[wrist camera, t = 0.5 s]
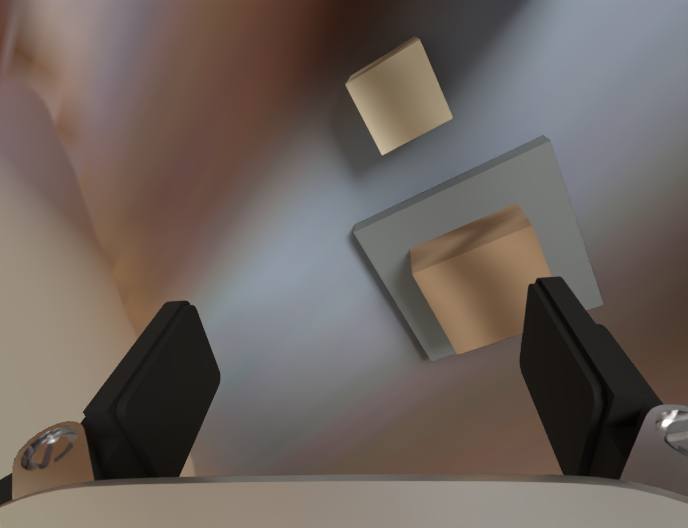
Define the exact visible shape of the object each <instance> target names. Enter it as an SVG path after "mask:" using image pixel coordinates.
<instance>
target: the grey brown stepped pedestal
mask: <svg viewBox="0 0 688 528" xmlns="http://www.w3.org/2000/svg"><path fill="white" fill-rule="evenodd" d="M353 233H354V234H355V236H356V238H357V239H358V241H359V243H360V244H361V246H362V248H363V249H364V251H365V253H366V254H367V256H368V258H369V259H370V261H371V263H372V264H373V266H374V268H375V269H376V271H377V272H378V274H379V276H380V277H381V279H382V281H383V282H384V284H385V286H386V287H387V289H388V291H389V292H390V294H391V296H392V297H393V299H394V301H395V302H396V304H397V306H398V307H399V309H400V311H401V312H402V314H403V315H404V317H405V319H406V320H407V322H408V324H409V325H410V327H411V329H412V330H413V332H414V334H415V335H416V337H417V339H418V340H419V342H420V344H421V345H422V347H423V349H424V350H425V352H426V354H427V355H428V357H429V358H430V360H431V362H432V361H435V360H438V359H441V358H444V357H447V356H450V355H453V354H456V353H457V355H458V354H461V353H464V352H468V351H471V350H474V349H477V348H480V347H483V346H486V345H489V344H492V343H495V342H498V341H501V340H504V339H507V338H510V337H513V336H516V335H519V334H522V333H523V326H524V317H525V308H526V300H527V291H528V286H529V284H533V283H535V281H536V279H537V278H542V277H557V276H560V277H562V278H563V279H564V281H565V282H566V283H567V285H568V286H569V288H570V289H571V290H572V292H573V293H574V294H575V296H576V297H577V299H578V300H579V301H580V303H581V304H582V306H583V307H584V308H585V310H589V309H592V308H595V307H599V306H602V305H604V304H603V301H602V298H601V295H600V292H599V289H598V286H597V283H596V280H595V277H594V273H593V270H592V267H591V264H590V261H589V258H588V255H587V252H586V249H585V246H584V243H583V240H582V237H581V233H580V230H579V227H578V224H577V221H576V218H575V215H574V212H573V209H572V206H571V203H570V200H569V197H568V193H567V190H566V187H565V184H564V181H563V178H562V175H561V172H560V169H559V166H558V163H557V160H556V157H555V153H554V150H553V147H552V144H551V141H550V140H549V139H548V138H546V137H545V136H544V135H543V136H541V137H539V138H537V139H535V140H533V141H530V142H528V143H526V144H524V145H522V146H520V147H518V148H516V149H514V150H511V151H509V152H507V153H505V154H503V155H501V156H499V157H497V158H495V159H492V160H490V161H488V162H486V163H484V164H482V165H480V166H478V167H476V168H473V169H471V170H469V171H467V172H465V173H463V174H461V175H459V176H457V177H454V178H452V179H450V180H448V181H446V182H444V183H442V184H440V185H438V186H435V187H433V188H431V189H429V190H427V191H425V192H423V193H421V194H419V195H416V196H414V197H412V198H410V199H408V200H406V201H404V202H402V203H400V204H397V205H395V206H393V207H391V208H389V209H387V210H385V211H383V212H381V213H378V214H376V215H374V216H372V217H370V218H368V219H366V220H364V221H362V222H360V223H357V224H355V226H354V232H353Z"/></svg>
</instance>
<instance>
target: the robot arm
mask: <svg viewBox="0 0 688 528" xmlns="http://www.w3.org/2000/svg"><path fill="white" fill-rule="evenodd" d="M520 368H521V372H522V375H523V377H524V380H525V382H526V385H527V387H528V390H529V392H530V394H531V397H532V399H533V402H534V404H535V407H536V409H537V411H538V414H539V416H540V419H541V421H542V424H543V426H544V429H545V431H546V433H547V436H548V438H549V441H550V443H551V446H552V448H553V450H554V453H555V455H556V458H557V460H558V463H559V465H560V468H561V470H562V472H563V475H531V474H377V475H277V476H210V477H179V476H180V473H181V471H182V469H183V467H184V464H185V462H186V460H187V457H188V455H189V453H190V451H191V448H192V446H193V444H194V441H195V439H196V437H197V434H198V432H199V430H200V428H201V425H202V423H203V421H204V418H205V416H206V414H207V411H208V409H209V407H210V405H211V402H212V400H213V398H214V395H215V393H216V391H217V389H218V386H219V383H220V371H219V368H218V366H217V363H216V360H215V358H214V355H213V352H212V349H211V347H210V344H209V341H208V339H207V336H206V333H205V331H204V328H203V325H202V322H201V320H200V317H199V314H198V312H197V309H196V307H195V306H194V305H190V303H189V302H188V301H172V302H166V303H165V304H164V305H163V306H162V308H161V309H160V310H159V312H158V313H157V314H156V316H155V317H154V318H153V319H152V321H151V322H150V323H149V325H148V326H147V327H146V329H145V330H144V331H143V333H142V334H141V335H140V337H139V338H138V339H137V341H136V342H135V344H134V345H133V346H132V347H131V349H130V350H129V352H128V353H127V354H126V355H125V357H124V358H123V359H122V361H121V362H120V363H119V365H118V366H117V367H116V369H115V370H114V371H113V373H112V374H111V375H110V377H109V378H108V379H107V381H106V382H105V383H104V385H103V386H102V387H101V389H100V390H99V391H98V392H97V394H96V395H95V397H94V398H93V399H92V401H91V402H90V403H89V405H88V406H87V407H86V408H85V410H84V411H83V413H84V415H85V416H86V417H85V418H84V419H83V421H82V422H81V423H78V422H73V421H67V422H62V423H58V424H55V425H53V426H50V427H48V428H46V429H44V430H43V431H41V432H39V433H38V434H36V435H35V436H34V437H32V438H31V439H30V440H29V441H27V443H26V444H25V445H24V446H23V447H22V448H21V449H20V450H19V452H18V454H17V455H16V457H15V459H14V463H13V471H12V473H11V474H10V475H8V476H6V477H4V478H3V479H1V480H0V528H688V407H687V406H683V405H675V404H667V405H663V403H662V402H661V401H660V399H659V398H658V397H657V395H656V394H655V393H654V391H653V390H652V389H651V387H650V386H649V385H648V383H647V382H646V381H645V379H644V378H643V377H642V375H641V374H640V372H639V371H638V370H637V368H636V367H635V366H634V364H633V363H632V362H631V360H630V359H629V358H628V356H627V355H626V354H625V352H624V351H623V350H622V348H621V347H620V346H619V344H618V343H617V342H616V340H615V339H614V338H613V336H612V335H611V334H610V332H609V331H608V330H607V329H606V328H605V327H604V326H603V325H601V324H595V322H594V321H593V319H592V318H591V317H590V315H589V314H588V313H587V311H586V310H585V308H584V307H583V306H582V304H581V303H580V301H579V300H578V299H577V297H576V296H575V294H574V293H573V292H572V290H571V289H570V288H569V286H568V285H567V283H566V282H565V281H564V279H563V278H562V277H560V276H557V277H542V278H537V279H536V281H535V283H533V284H529V286H528V291H527V300H526V308H525V317H524V326H523V335H522V343H521V352H520Z"/></svg>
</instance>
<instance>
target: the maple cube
mask: <svg viewBox="0 0 688 528" xmlns="http://www.w3.org/2000/svg"><path fill="white" fill-rule="evenodd" d="M345 85H346V87H347V89H348V91H349V93H350V95H351V97H352V99H353V101H354V103H355V104H356V106H357V108H358V110H359V112H360V114H361V116H362V118H363V120H364V122H365V124H366V126H367V127H368V129H369V131H370V133H371V135H372V137H373V139H374V141H375V143H376V145H377V147H378V149H379V151H380V152H381V154H382V155H384V154H386V153H388V152H390V151H392V150H394V149H396V148H397V147H399V146H401V145H403V144H405V143H407V142H409V141H411V140H413V139H415V138H416V137H418V136H420V135H422V134H424V133H426V132H428V131H430V130H432V129H434V128H436V127H437V126H439V125H441V124H443V123H445V122H447V121H449V120H451V119H453V116H452V114H451V111H450V109H449V107H448V104H447V102H446V100H445V97H444V95H443V93H442V90H441V88H440V85H439V83H438V81H437V78H436V76H435V74H434V71H433V69H432V67H431V64H430V62H429V59H428V57H427V55H426V52H425V50H424V48H423V45H422V43H421V41H420V39H419V38H417V37H416V36H414V37H413V38H411V39H409V40H408V41H406V42H404V43H403V44H401V45H400V46H398V47H396V48H395V49H393V50H391V51H390V52H388V53H386V54H385V55H383V56H382V57H380V58H378V59H377V60H375V61H373V62H372V63H370V64H368V65H367V66H365V67H364V68H362V69H360V70H359V71H357V72H355V73H354V74H352V75H351V76H350V78H349V79H348V81H347V83H346V84H345Z"/></svg>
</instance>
